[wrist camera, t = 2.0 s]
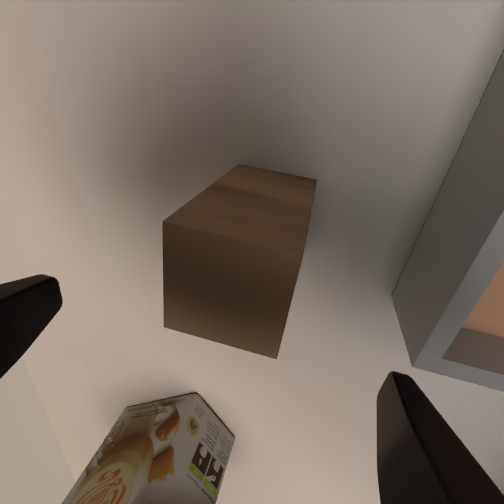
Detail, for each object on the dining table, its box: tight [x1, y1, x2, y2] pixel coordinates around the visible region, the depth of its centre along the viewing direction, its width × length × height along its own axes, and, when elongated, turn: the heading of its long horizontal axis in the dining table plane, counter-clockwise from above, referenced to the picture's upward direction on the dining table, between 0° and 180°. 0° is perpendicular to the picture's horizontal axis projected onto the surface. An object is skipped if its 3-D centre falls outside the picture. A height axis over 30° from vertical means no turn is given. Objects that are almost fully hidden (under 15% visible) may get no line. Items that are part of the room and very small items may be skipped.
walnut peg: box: [163, 165, 317, 359], centre depth 13 cm, size 4×4×8 cm
